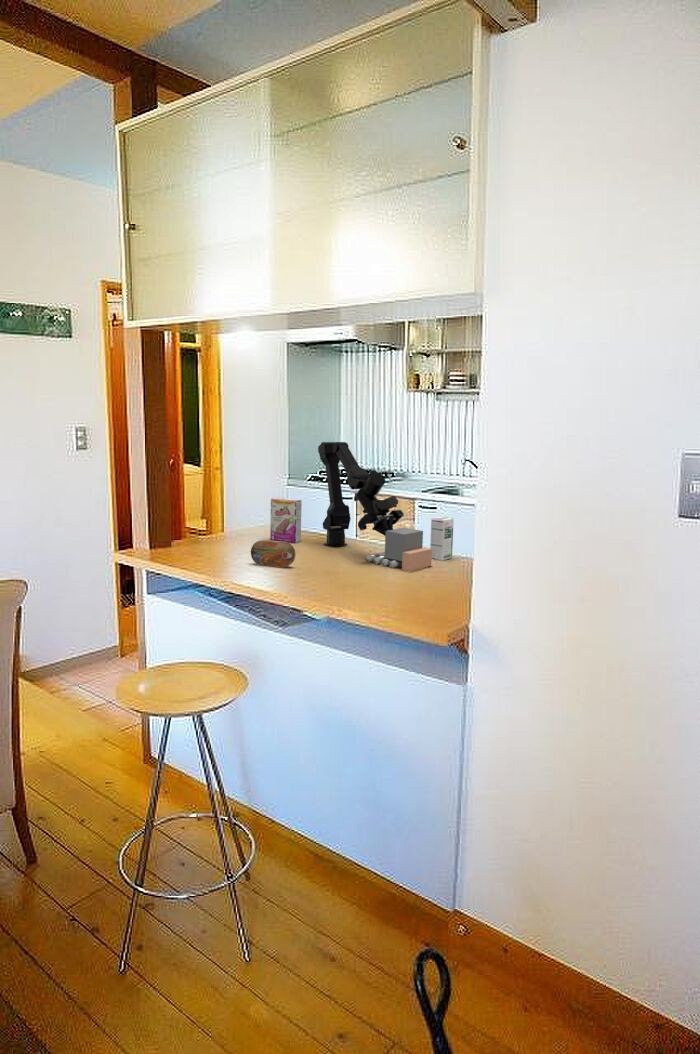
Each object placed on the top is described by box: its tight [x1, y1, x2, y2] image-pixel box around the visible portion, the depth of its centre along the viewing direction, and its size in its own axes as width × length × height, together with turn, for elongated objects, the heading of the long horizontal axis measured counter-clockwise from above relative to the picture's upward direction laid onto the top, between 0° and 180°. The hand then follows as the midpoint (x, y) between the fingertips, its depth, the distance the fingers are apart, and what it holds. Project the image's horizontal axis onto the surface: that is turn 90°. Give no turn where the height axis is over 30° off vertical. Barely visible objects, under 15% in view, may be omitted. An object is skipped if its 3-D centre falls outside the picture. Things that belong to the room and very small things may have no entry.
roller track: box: [364, 551, 402, 569], centre depth 240 cm, size 13×12×2 cm
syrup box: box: [429, 516, 454, 561], centre depth 248 cm, size 6×6×14 cm
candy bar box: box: [269, 497, 303, 544], centre depth 270 cm, size 11×5×16 cm, turn 68°
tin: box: [250, 539, 296, 568], centre depth 230 cm, size 15×3×8 cm, turn 73°
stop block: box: [401, 547, 433, 573], centre depth 232 cm, size 3×12×6 cm, turn 138°
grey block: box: [384, 527, 424, 561], centre depth 235 cm, size 8×10×9 cm
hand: (393, 539), depth 238 cm, fingers closed, pressing on grey block
